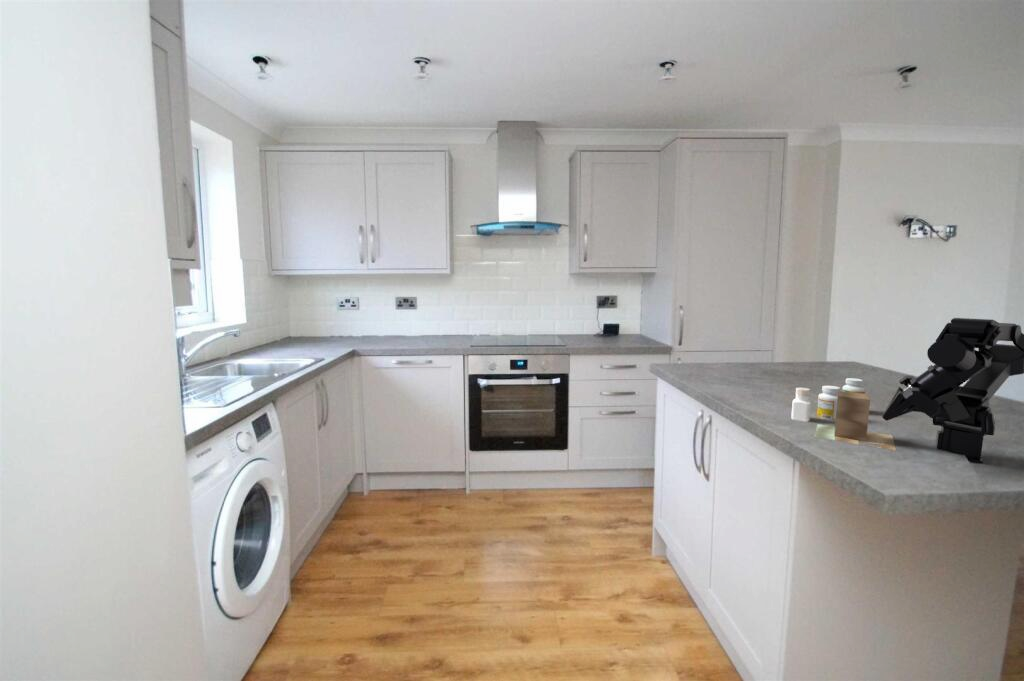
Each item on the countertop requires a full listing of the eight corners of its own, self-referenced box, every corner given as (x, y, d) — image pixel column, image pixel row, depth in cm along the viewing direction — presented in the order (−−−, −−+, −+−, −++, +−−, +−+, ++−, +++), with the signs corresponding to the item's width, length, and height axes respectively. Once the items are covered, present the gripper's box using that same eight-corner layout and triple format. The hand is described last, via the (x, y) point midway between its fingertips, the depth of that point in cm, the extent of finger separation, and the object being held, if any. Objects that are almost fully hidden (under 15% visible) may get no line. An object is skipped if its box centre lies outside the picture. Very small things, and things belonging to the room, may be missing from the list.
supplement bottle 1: (832, 418, 125) (835, 384, 124) (844, 424, 120) (848, 389, 119) (812, 418, 126) (815, 384, 125) (823, 424, 120) (826, 389, 119)
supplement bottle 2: (866, 412, 131) (870, 380, 130) (857, 414, 129) (860, 382, 128) (846, 407, 136) (849, 376, 135) (836, 410, 133) (839, 378, 132)
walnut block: (865, 434, 109) (869, 394, 107) (865, 441, 104) (870, 399, 103) (835, 429, 112) (838, 391, 111) (834, 436, 107) (837, 395, 106)
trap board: (892, 440, 108) (892, 435, 108) (895, 455, 98) (895, 450, 98) (817, 428, 117) (817, 424, 117) (813, 441, 108) (814, 436, 107)
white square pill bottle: (793, 419, 125) (795, 386, 123) (810, 422, 122) (812, 388, 121) (790, 423, 122) (793, 389, 120) (807, 426, 119) (810, 391, 118)
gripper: (999, 411, 85) (921, 459, 93) (980, 391, 99) (914, 434, 107) (941, 369, 89) (872, 418, 97) (931, 356, 104) (871, 400, 111)
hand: (884, 418), depth 103 cm, fingers closed
